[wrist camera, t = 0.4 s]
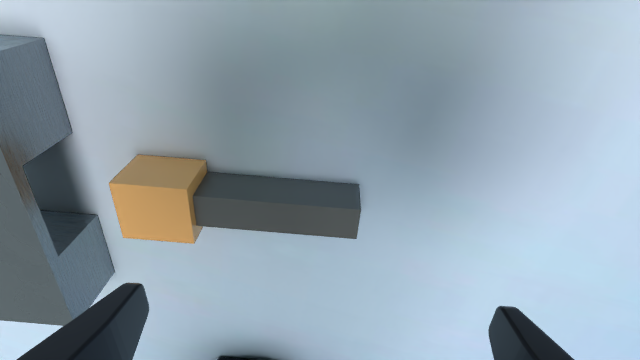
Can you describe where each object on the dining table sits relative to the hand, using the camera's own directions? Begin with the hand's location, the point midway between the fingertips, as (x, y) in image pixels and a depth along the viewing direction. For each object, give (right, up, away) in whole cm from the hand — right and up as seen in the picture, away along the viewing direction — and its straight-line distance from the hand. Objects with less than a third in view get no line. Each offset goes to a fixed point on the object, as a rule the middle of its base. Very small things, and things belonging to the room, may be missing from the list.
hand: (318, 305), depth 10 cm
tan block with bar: (-4, +3, +13) cm, 14 cm away
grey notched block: (-17, +4, +13) cm, 22 cm away
